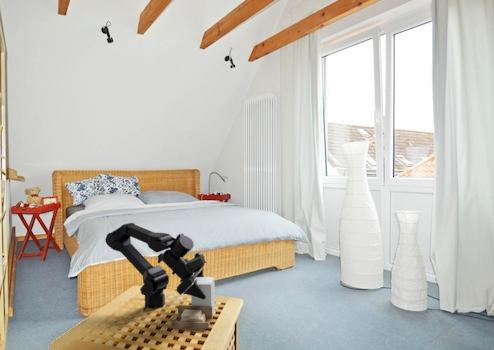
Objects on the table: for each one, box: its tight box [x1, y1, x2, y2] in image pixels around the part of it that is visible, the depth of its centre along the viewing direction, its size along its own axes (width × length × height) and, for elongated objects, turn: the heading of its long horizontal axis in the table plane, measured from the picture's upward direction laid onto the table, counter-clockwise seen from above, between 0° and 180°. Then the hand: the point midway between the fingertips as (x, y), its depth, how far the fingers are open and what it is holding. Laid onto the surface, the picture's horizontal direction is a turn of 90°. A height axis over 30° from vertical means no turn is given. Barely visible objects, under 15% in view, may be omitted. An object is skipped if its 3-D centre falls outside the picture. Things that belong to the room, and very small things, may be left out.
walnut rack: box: [171, 304, 213, 330], centre depth 113 cm, size 12×8×5 cm, turn 85°
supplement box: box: [190, 276, 216, 316], centre depth 121 cm, size 7×7×13 cm
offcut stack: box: [180, 310, 206, 322], centre depth 112 cm, size 8×5×4 cm, turn 85°
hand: (207, 293), depth 120 cm, fingers open, 8 cm apart
